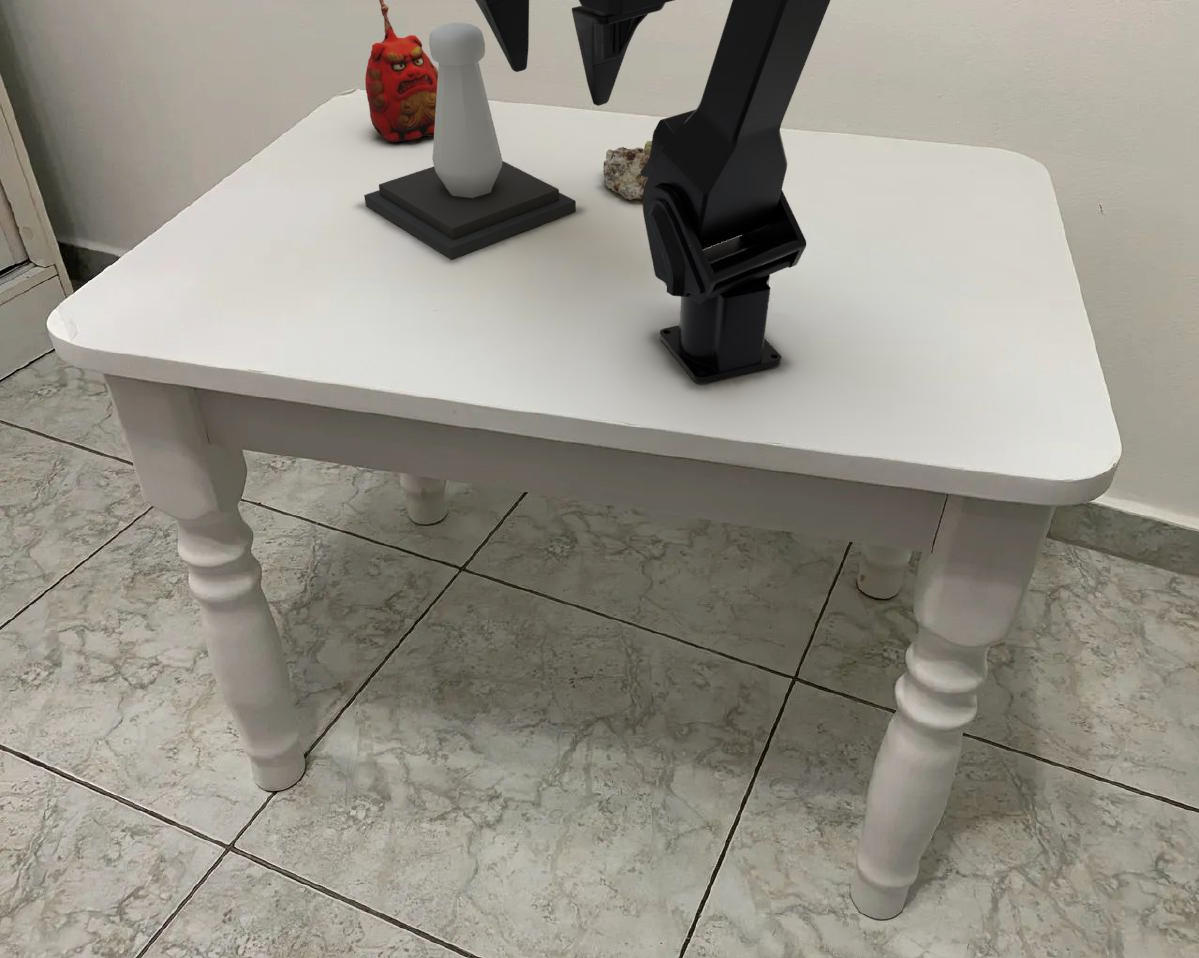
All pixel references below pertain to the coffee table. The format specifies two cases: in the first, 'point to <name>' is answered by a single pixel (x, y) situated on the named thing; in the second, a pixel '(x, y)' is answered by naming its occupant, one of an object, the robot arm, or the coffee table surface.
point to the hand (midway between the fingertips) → (558, 86)
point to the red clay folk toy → (401, 86)
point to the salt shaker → (463, 113)
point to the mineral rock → (626, 170)
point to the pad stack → (468, 209)
